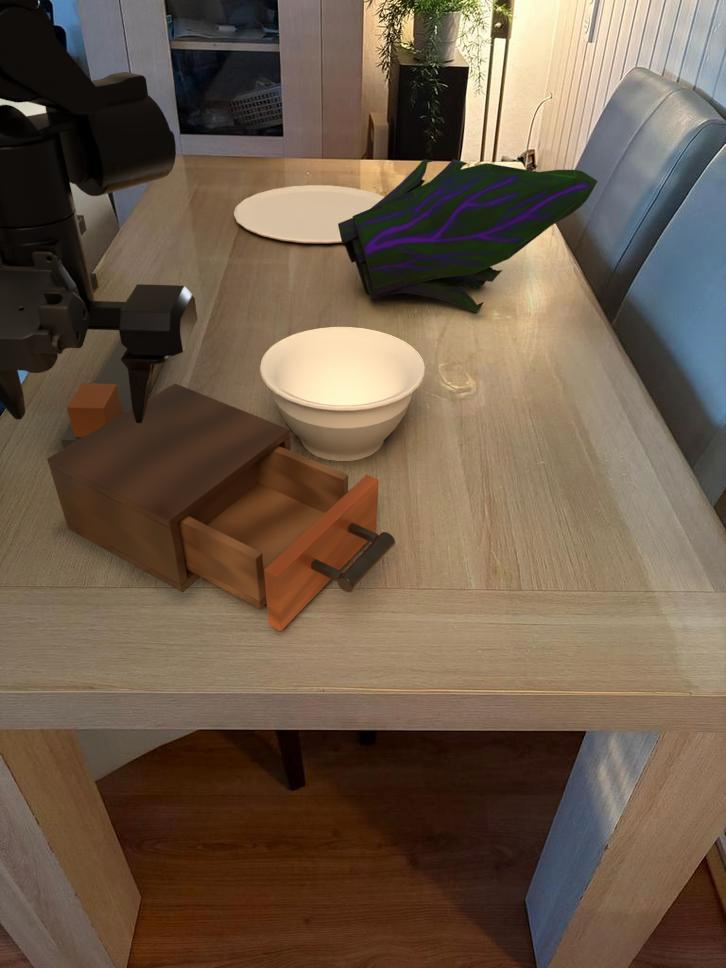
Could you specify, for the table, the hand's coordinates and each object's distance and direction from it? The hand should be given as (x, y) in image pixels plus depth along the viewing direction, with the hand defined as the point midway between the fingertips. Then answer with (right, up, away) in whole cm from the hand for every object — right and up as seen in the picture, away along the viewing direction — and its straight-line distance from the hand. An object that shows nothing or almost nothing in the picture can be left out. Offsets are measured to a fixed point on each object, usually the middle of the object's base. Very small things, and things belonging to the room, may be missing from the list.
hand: (80, 418), depth 57 cm
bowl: (+20, 0, +20) cm, 28 cm away
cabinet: (+6, -8, +10) cm, 14 cm away
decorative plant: (+33, +21, +48) cm, 62 cm away
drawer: (+16, -11, +4) cm, 20 cm away
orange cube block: (-5, +1, +19) cm, 19 cm away
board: (-5, +8, +29) cm, 31 cm away
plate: (+14, +41, +73) cm, 85 cm away
